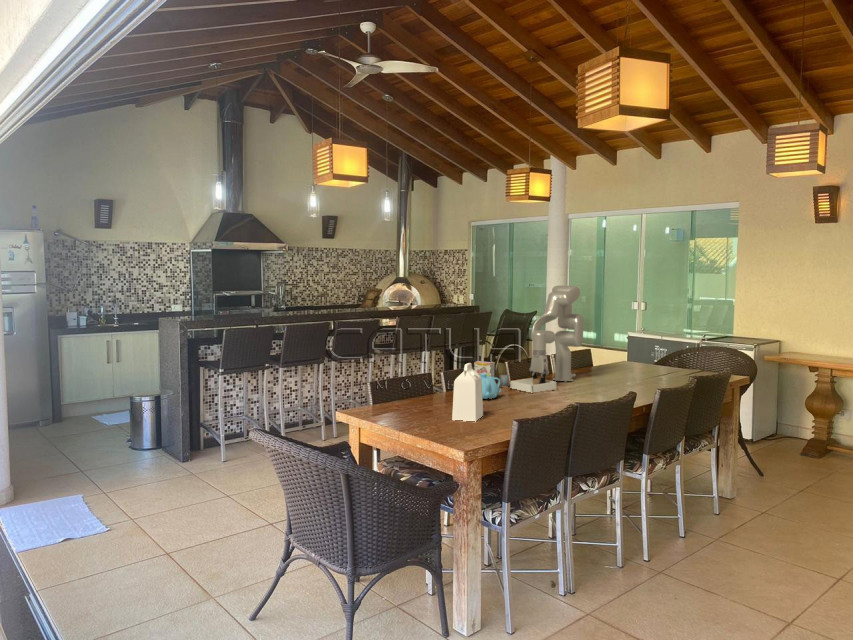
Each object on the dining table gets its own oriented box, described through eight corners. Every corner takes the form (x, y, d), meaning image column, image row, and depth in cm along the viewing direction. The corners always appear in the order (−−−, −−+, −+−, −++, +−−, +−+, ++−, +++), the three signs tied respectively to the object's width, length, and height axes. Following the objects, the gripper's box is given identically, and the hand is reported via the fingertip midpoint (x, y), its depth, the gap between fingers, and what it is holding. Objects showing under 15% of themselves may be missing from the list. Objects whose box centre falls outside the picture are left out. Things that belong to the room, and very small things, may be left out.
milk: (460, 414, 313) (460, 361, 311) (483, 416, 309) (483, 362, 307) (452, 420, 302) (452, 365, 300) (475, 422, 298) (475, 366, 296)
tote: (534, 385, 389) (534, 377, 389) (556, 390, 375) (556, 381, 374) (509, 389, 378) (510, 381, 377) (531, 394, 363) (532, 385, 363)
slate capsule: (504, 385, 389) (504, 374, 389) (510, 387, 385) (510, 375, 385) (498, 386, 386) (498, 375, 386) (504, 388, 382) (504, 376, 382)
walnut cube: (538, 386, 382) (538, 378, 382) (544, 387, 378) (544, 379, 378) (532, 387, 379) (532, 378, 379) (538, 388, 375) (538, 380, 375)
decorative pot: (486, 402, 341) (486, 377, 340) (462, 398, 352) (462, 373, 351) (503, 398, 354) (504, 373, 352) (480, 394, 364) (480, 370, 363)
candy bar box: (473, 389, 377) (473, 361, 376) (477, 388, 382) (477, 360, 380) (490, 391, 372) (491, 363, 370) (494, 390, 376) (494, 362, 374)
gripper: (554, 354, 372) (554, 385, 374) (533, 350, 386) (533, 380, 388) (545, 355, 368) (545, 386, 369) (524, 351, 382) (523, 382, 383)
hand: (538, 383), depth 379 cm, fingers open, 5 cm apart
